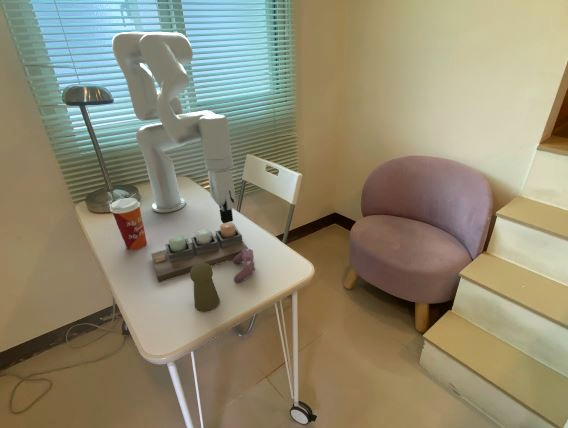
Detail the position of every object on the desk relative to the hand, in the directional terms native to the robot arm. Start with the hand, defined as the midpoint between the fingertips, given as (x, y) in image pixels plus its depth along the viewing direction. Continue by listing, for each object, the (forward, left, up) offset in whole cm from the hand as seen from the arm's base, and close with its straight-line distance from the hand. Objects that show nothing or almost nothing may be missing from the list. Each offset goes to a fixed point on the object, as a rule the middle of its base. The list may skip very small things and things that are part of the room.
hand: (227, 221), depth 94 cm
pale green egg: (0, -15, -5) cm, 16 cm away
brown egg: (0, 0, -5) cm, 5 cm away
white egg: (0, -8, -5) cm, 9 cm away
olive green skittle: (+21, -13, -9) cm, 27 cm away
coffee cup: (-16, -26, -9) cm, 32 cm away
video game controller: (+14, -1, -9) cm, 17 cm away
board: (+1, -10, -9) cm, 13 cm away
